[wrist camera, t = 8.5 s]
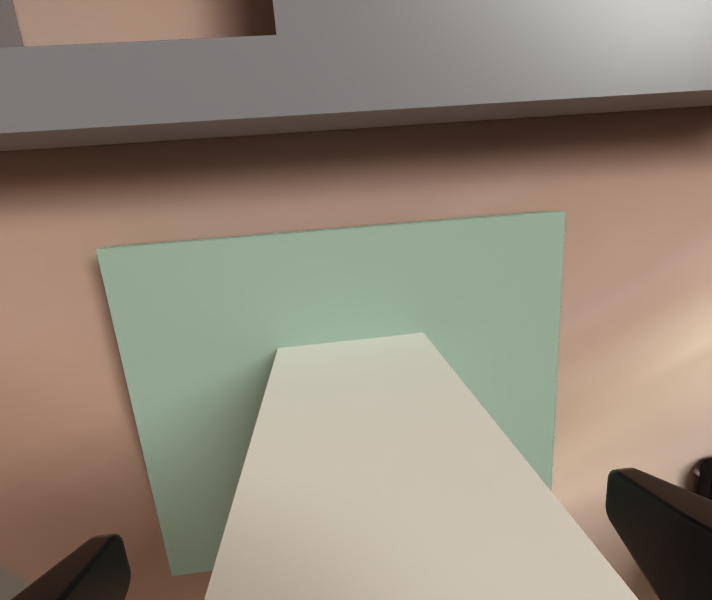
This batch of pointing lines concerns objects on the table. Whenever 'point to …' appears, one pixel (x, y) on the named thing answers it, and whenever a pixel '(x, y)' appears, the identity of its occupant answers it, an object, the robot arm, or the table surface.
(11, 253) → the table surface
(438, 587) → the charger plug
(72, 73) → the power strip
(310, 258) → the green mat
